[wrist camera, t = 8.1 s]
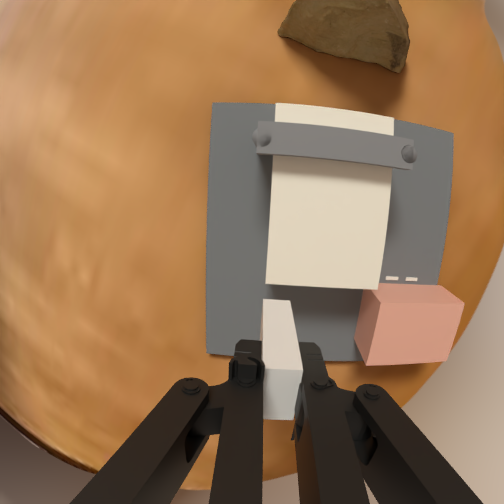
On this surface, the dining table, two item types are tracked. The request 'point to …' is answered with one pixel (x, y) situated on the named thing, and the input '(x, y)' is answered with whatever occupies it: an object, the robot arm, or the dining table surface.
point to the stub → (407, 324)
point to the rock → (351, 29)
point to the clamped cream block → (329, 194)
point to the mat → (257, 231)
